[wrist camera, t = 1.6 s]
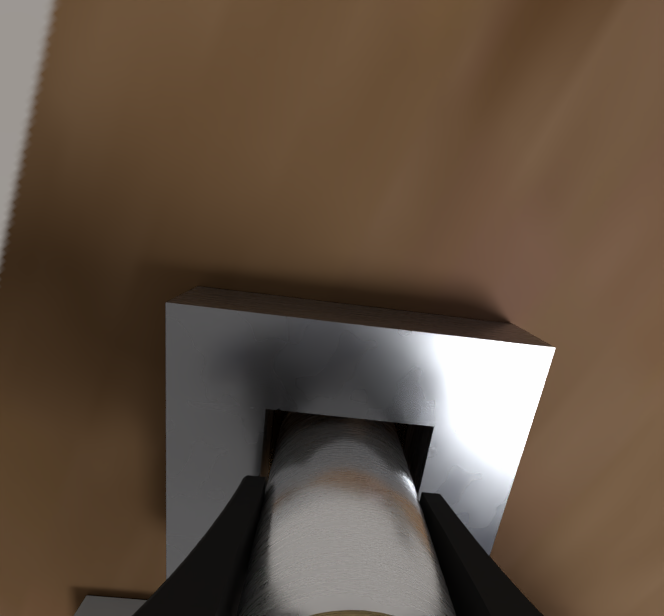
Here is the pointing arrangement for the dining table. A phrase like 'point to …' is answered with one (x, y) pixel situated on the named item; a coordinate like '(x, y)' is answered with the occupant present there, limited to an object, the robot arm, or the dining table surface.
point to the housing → (342, 397)
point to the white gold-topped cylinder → (342, 527)
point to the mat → (108, 606)
